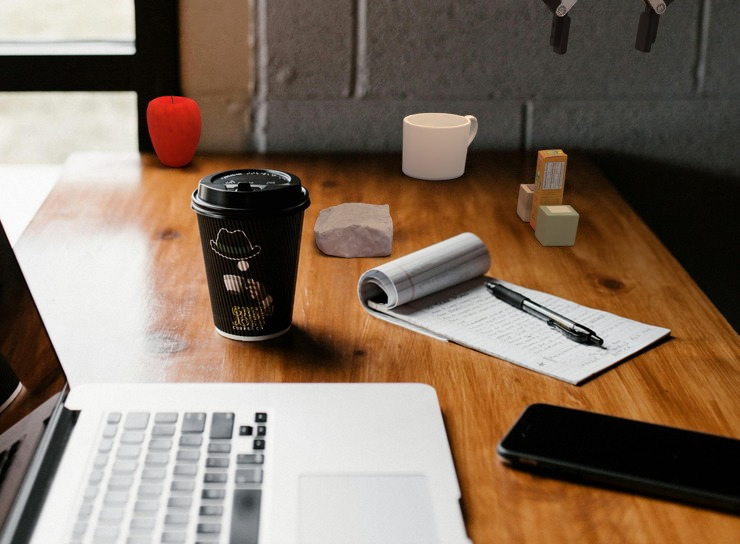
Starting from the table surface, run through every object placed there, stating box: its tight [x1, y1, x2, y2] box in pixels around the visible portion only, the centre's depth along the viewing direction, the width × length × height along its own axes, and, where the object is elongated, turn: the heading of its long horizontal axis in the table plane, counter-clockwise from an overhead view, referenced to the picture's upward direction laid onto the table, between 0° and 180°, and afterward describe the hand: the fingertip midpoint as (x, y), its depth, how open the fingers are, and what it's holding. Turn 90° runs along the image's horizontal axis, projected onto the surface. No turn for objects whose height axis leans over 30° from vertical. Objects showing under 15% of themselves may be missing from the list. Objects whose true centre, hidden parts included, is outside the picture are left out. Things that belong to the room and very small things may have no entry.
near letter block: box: [534, 204, 580, 247], centre depth 110 cm, size 4×4×4 cm
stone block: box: [313, 202, 394, 259], centre depth 110 cm, size 12×5×10 cm
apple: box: [146, 95, 203, 168], centre depth 141 cm, size 9×9×11 cm
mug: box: [401, 112, 479, 181], centre depth 137 cm, size 13×10×8 cm
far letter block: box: [516, 183, 535, 223], centre depth 118 cm, size 4×4×4 cm
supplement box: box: [529, 149, 568, 232], centre depth 112 cm, size 3×3×10 cm
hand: (600, 52), depth 100 cm, fingers open, 9 cm apart
